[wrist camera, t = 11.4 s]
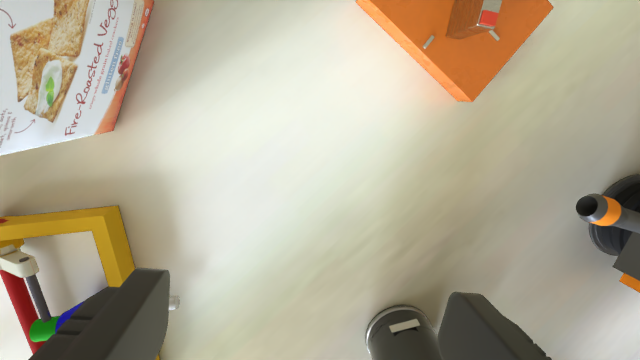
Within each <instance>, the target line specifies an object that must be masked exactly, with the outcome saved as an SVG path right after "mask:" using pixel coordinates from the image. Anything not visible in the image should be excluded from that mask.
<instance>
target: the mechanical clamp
mask: <svg viewBox="0 0 640 360" xmlns="http://www.w3.org/2000/svg"><path fill="white" fill-rule="evenodd" d="M84 231H92V233H93V236H94V239H95V243H96V246H97V249H98V253H99V256H100V259H101V263H102V266H103V269H104V272H105V276H106V279H107V282H108V286H109V287H120V286H121V285H122V283H123V282H124V281H125V280H126V279H127V278H128V276H129V275H130V274H131V273H132V272H133V271H134V270H135V266H134V262H133V259H132V255H131V251H130V248H129V244H128V240H127V237H126V233H125V229H124V226H123V222H122V218H121V214H120V211H119V207H118V206H109V207H99V208H90V209H80V210H71V211H61V212H52V213H42V214H33V215H23V216H5V217H0V274H1V277H2V279H3V282H4V284H5V287H6V289H7V292H8V294H9V296H10V299H11V301H12V304H13V306H14V309H15V311H16V314H17V316H18V319H19V321H20V323H21V326H22V328H23V331H24V333H25V336H26V338H27V341H28V343H29V346H30V348H31V350H32V353H33V354H34V353H35V352H36V351H37V350H38V349H39V348H40V347H41V346H42V345H43V344H44V343H45V342H46V341H47V340H48V339H49V338H50V337H51V336H52V335H53V334H56V332H57V329H58V328H59V327H60V326H61V325H62V324H63V323H64V322H65V321H66V320H67V319H70V317H71V315H72V314H73V313H74V312H75V311H76V310H77V309H78V308H79V307H80V305H81V304H82V303H83V302H82V303H80V304H78V305H77V306H75V307H73V308H71V309H70V310H68V311H66V312H64V313H63V314H62V315H61V316H57V317H51V315H50V312H49V310H48V307H47V304H46V302H45V299H44V296H43V294H42V291H41V288H40V286H39V283H38V280H37V277H36V275H35V274H36V273H37V272H39V268H38V266H37V263H36V260H35V257H34V256H31V255H28V254H26V253H23V252H21V250H20V247H21V246H22V245H23V244H24V240H23V238H30V237H39V236H48V235H57V234H66V233H75V232H84ZM24 277H25V278H26V280H27V283H28V285H29V288H30V291H31V293H32V296H33V299H34V301H35V304H36V306H37V309H38V312H39V314H40V317H41V319H39V318H38V315H37V313H36V310H35V308H34V305H33V302H32V300H31V297H30V295H29V292H28V290H27V287H26V284H25V282H24V279H23V278H24ZM179 304H180V300H179V296H171V297H169V310H173V309H178V308H179ZM155 360H160V358H159V355H157V357H156V359H155Z"/></svg>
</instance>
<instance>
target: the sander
mask: <svg viewBox="0 0 640 360" xmlns="http://www.w3.org/2000/svg"><path fill="white" fill-rule="evenodd" d="M576 210H577V213H578V215H579V217H580V218H581V219H582V220H584V221H586V222H589V232H590V237H591V239H592V242H593V243H594V245H595V246H596V247H597V248H598V249H600V250H601V251H603V252H605V253H607V254H609V255H614V256H618V258H617V260H616V262H615V263H614V265H613V267H614V268H616V269H618V270H620V271H622V272H623V273H624V274H623V275H622V277H621V279H620V282H622V283H624V284H625V285H627V286H629V287H631V288H633V289H634V290H636V291H638V292H640V174H637V175H632V176H628V177H626V178H624V179H621V180H620V181H618V182H616V183H615V184H613V185H612V186H611V187H610V188H609V189H607V190H606V191H605V192H604V194H603V195H599V194H589V195H587V196H585V197H583V198H581V199H580V200H579V201H578V202H577V205H576Z"/></svg>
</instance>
